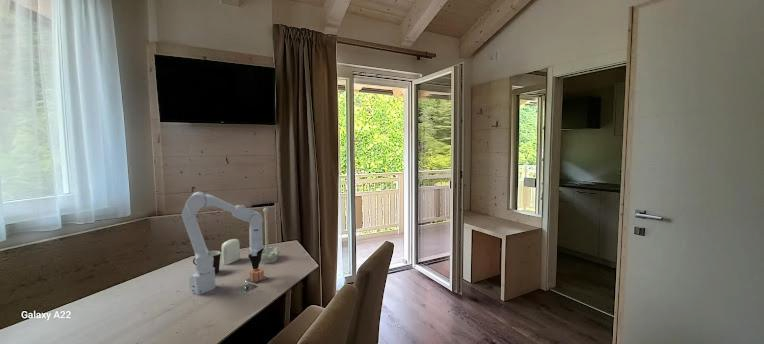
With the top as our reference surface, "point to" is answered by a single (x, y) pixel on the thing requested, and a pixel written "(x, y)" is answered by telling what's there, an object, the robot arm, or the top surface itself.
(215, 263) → the coffee mug
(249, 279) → the square peg base
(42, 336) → the top surface
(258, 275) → the ring
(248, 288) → the stand
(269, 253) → the flag stand
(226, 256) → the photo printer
